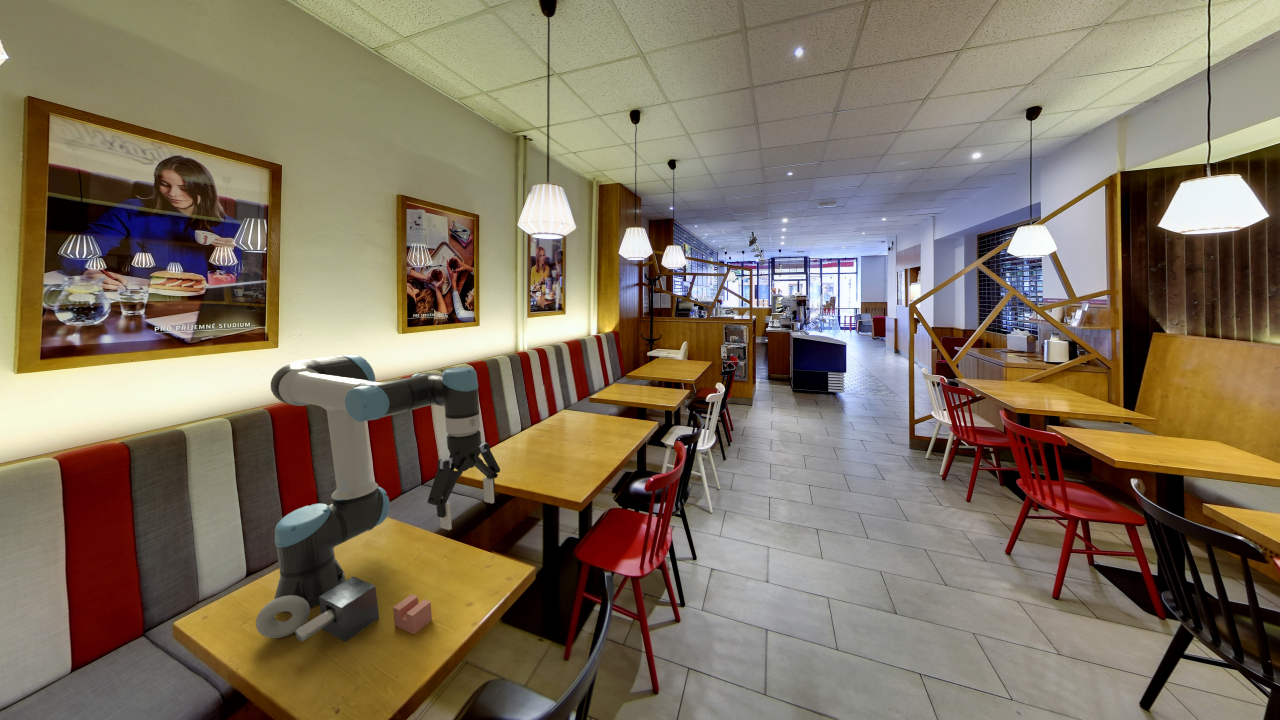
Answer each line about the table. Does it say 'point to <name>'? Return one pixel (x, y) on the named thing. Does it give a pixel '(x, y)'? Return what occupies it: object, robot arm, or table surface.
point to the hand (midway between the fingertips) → (469, 514)
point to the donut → (278, 629)
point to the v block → (412, 614)
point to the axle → (315, 624)
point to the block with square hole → (350, 607)
